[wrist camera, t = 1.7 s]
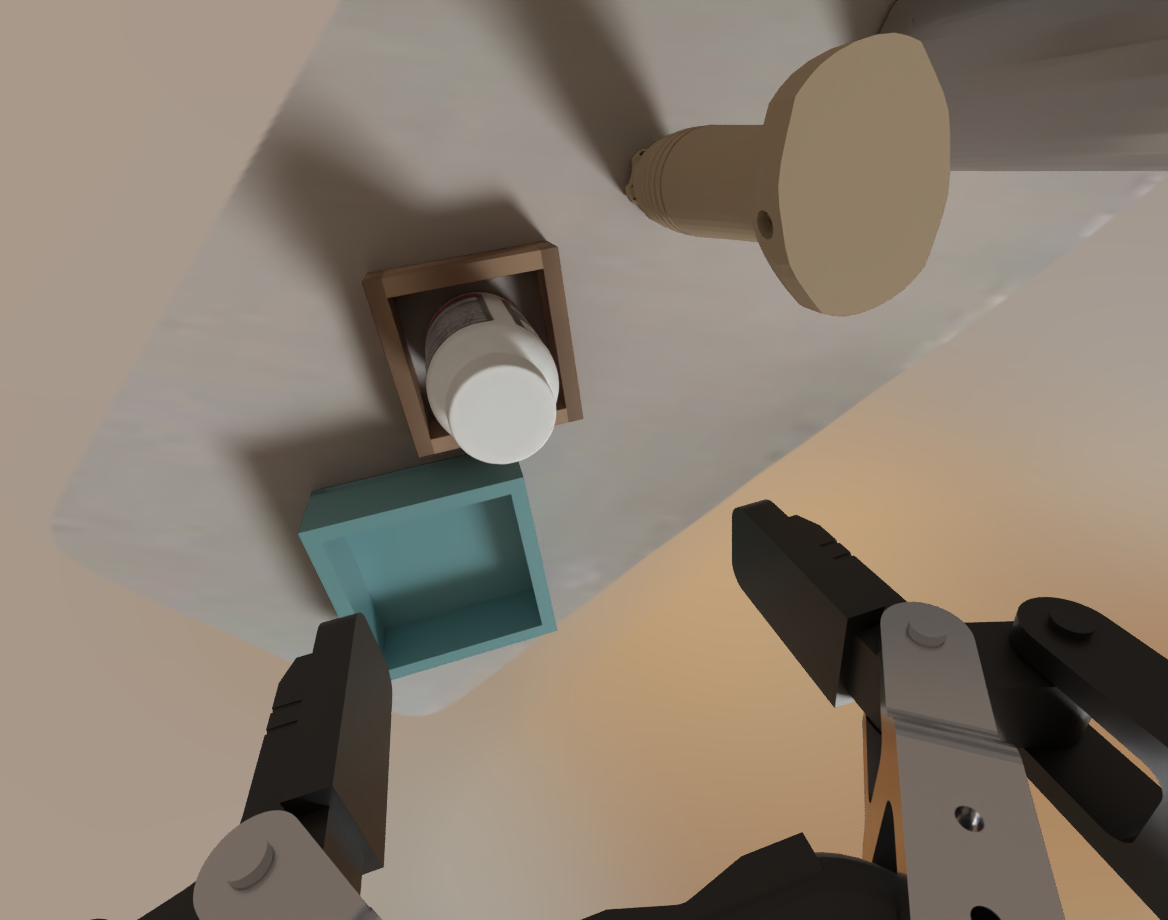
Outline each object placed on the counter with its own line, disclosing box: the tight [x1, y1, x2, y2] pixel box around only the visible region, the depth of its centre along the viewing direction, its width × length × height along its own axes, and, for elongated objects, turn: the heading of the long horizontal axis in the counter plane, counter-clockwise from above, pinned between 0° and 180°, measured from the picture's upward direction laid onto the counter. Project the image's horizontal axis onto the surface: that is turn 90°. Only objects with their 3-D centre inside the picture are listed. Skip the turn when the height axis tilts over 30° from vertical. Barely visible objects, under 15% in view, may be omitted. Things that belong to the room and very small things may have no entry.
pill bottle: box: [425, 292, 559, 464], centre depth 24 cm, size 5×5×10 cm
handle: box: [625, 33, 950, 317], centre depth 20 cm, size 5×6×15 cm
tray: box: [298, 454, 557, 680], centre depth 31 cm, size 11×11×4 cm
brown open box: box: [362, 241, 583, 457], centre depth 27 cm, size 9×9×2 cm
